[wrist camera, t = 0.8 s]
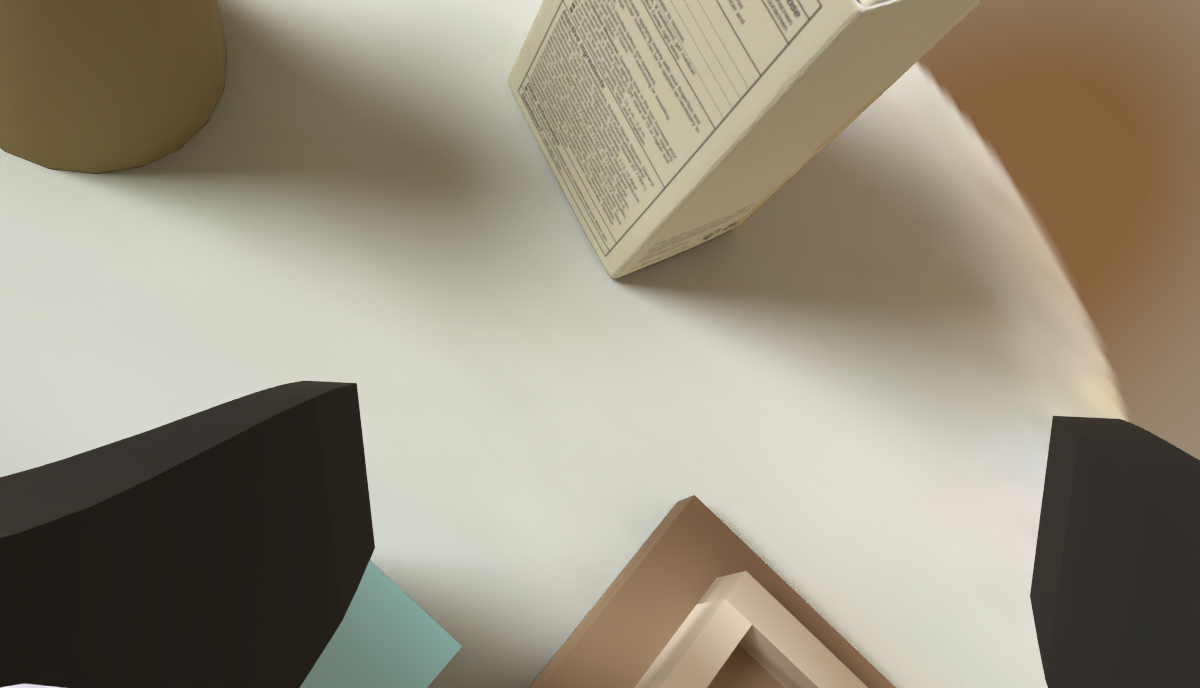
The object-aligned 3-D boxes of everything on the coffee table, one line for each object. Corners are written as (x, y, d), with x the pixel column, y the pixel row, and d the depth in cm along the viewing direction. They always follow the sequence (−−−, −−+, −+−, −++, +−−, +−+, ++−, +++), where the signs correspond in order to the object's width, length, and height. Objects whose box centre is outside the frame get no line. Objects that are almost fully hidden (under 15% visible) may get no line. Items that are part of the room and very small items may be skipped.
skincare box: (740, 229, 30) (1058, -42, 19) (602, 287, 28) (867, 24, 17) (632, 27, 31) (879, -344, 20) (490, 71, 29) (677, -313, 18)
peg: (263, 802, 22) (295, 843, 16) (129, 680, 22) (107, 671, 16) (388, 661, 24) (462, 646, 18) (264, 544, 24) (293, 488, 17)
